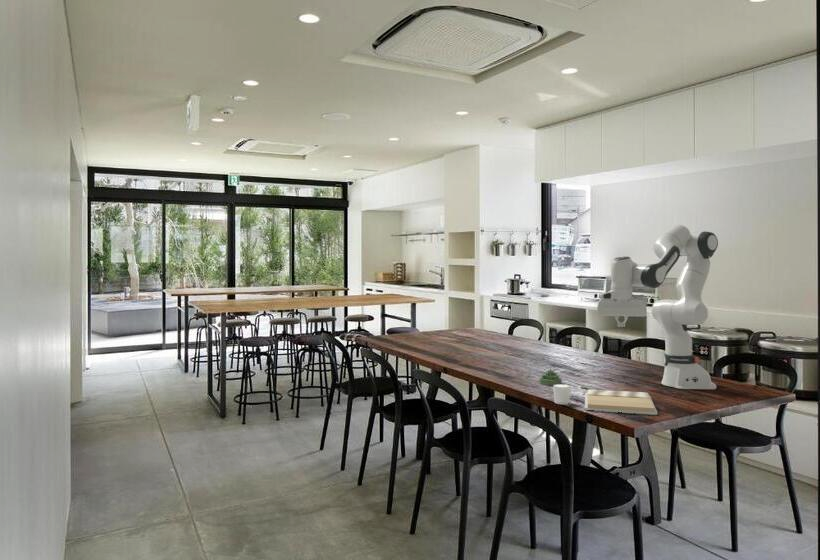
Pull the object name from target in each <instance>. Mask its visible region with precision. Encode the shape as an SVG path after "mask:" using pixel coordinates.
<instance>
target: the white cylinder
mask: <svg viewBox="0 0 820 560" xmlns="http://www.w3.org/2000/svg"><path fill="white" fill-rule="evenodd" d="M552 387H553V388H552V389H553V397H554V403H555V404H557V405H569V404H570V396H571V385H569V384H564V383H563V384H556V385H553V386H552ZM568 403H569V404H568Z"/></svg>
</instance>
